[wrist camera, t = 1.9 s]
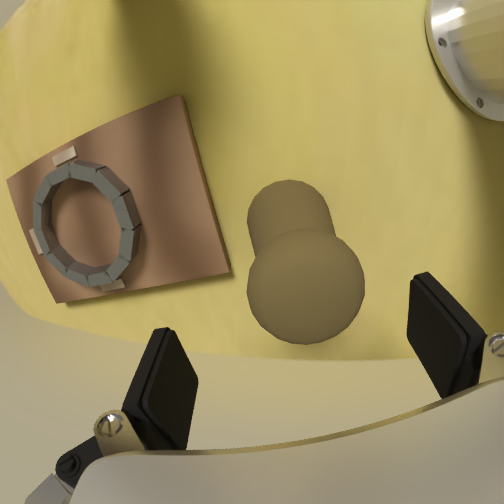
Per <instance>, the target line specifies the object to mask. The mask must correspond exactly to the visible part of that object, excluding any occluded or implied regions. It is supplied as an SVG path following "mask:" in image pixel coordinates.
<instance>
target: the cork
mask: <svg viewBox="0 0 504 504" xmlns="http://www.w3.org/2000/svg"><path fill="white" fill-rule="evenodd" d="M247 224H248V229H249V234H250V238H251V241H252V245H253V249H254V253H255V257H256V258H255V260H254V262H253V264H252V266H251V268H250V270H249V277H248V285H247V296H248V300H249V305H250V308H251V311H252V314H253V315H254V317H255V318H256V320H257V321H258V323H259V324H260V326H261V327H262V328H264V329H265V330H267V331H268V332H269V333H271V334H272V335H273V336H275V337H276V338H278V339H280V340H283V341H286V342H289V343H292V344H305V345H307V344H313V343H319V342H323V341H325V340H328V339H330V338H332V337H335V336H336V335H338V334H339V333H340V332H342V331H343V330H344V329H346V328H347V327H348V326H349V325H350V323H351V322H352V321H353V319H354V318H355V317H356V315H357V314H358V312H359V310H360V307H361V304H362V301H363V299H364V296H365V279H364V272H363V270H362V267H361V265H360V262H359V260H358V257H357V256H356V255H355V253H354V252H353V251H352V250H351V249H350V248H349V246H348V245H347V244H346V243H345V242H344V241H343V240H341V239H339V238H337V237H336V234H335V230H334V227H333V223H332V219H331V216H330V212H329V208H328V206H327V204H326V202H325V200H324V198H323V196H322V195H321V194H320V193H319V192H318V191H317V190H316V189H315V188H314V187H312V186H310V185H308V184H306V183H304V182H301V181H295V180H284V181H278V182H274V183H272V184H270V185H268V186H267V187H265V188H263V189H262V190H261V191H260V192H259V193H258V194H257V195H256V196H255V197H254V199H253V201H252V203H251V205H250V207H249V209H248V217H247Z"/></svg>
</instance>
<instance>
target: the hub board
mask: <svg viewBox="0 0 504 504" xmlns="http://www.w3.org/2000/svg"><path fill="white" fill-rule="evenodd" d="M77 160H83V161H88V162H93V163H97V164H102V165H106V167H109V168H110V169H111V170H112V171H113V172H114V173H115V174H116V175H117V176H118V177H119V178H120V179H121V180H122V181H123V182H124V183H125V184H126V185H127V186H128V187H129V188H130V189H129V190H128V191H131V192H132V195H133V198H134V201H135V204H136V207H137V210H138V213H139V215H140V218H141V221H142V222H141V224H142V226H141V233H140V240H139V248H138V253H137V255H136V256H135V257H134V259H133V260H132V261H131V262H130V263H129V264H128V266H127V267H126V268H125V269H124V270H123V271H122V273H121V274H120V275H119V276H118V277H117V279H116V280H115V281H114V282H113V283H108V284H103V285H98V286H93V287H90V286H89V287H87V286H85V285H82V284H79V283H77V282H74V281H72V280H69V279H67V278H65V277H63V276H62V275H61V274H60V273H59V272H58V270H57V269H56V268H55V267H54V266H53V265H52V264H51V263H50V262H49V261H48V260H47V259H46V258H45V257H46V256H44V254H43V252H42V250H41V247H40V245H39V242H38V240H37V238H36V235H35V232H34V228H33V200H34V197H35V195H36V193H37V191H38V189H39V187H40V185H41V183H42V181H43V179H44V177H45V176H46V175H47V174H48V173H50V172H52V171H54V170H56V169H58V168H60V167H62V166H64V165H66V164H68V163H71V162H74V161H77ZM6 181H7V184H8V188H9V191H10V194H11V198H12V201H13V204H14V207H15V210H16V213H17V216H18V218H19V221H20V224H21V227H22V229H23V232H24V234H25V237H26V239H27V242H28V244H29V247H30V249H31V252H32V254H33V256H34V259H35V261H36V263H37V265H38V267H39V270H40V272H41V274H42V276H43V278H44V280H45V282H46V284H47V286H48V288H49V290H50V292H51V294H52V296H53V298H54V300H55V302H56V304H58V303H64V302H69V301H75V300H81V299H87V298H93V297H98V296H104V295H110V294H115V293H121V292H127V291H132V290H138V289H143V288H149V287H154V286H160V285H165V284H170V283H176V282H181V281H186V280H192V279H197V278H202V277H208V276H213V275H218V274H223V273H228V272H229V271H230V266H231V264H230V261H229V257H228V254H227V250H226V247H225V244H224V240H223V237H222V233H221V230H220V227H219V223H218V220H217V216H216V213H215V209H214V206H213V202H212V199H211V195H210V192H209V188H208V185H207V181H206V177H205V174H204V170H203V167H202V163H201V159H200V156H199V152H198V148H197V145H196V141H195V137H194V134H193V130H192V126H191V122H190V119H189V115H188V111H187V107H186V103H185V100H184V96H181V95H177V96H174V97H171V98H168V99H165V100H162V101H160V102H157V103H154V104H151V105H149V106H146V107H144V108H141V109H138V110H136V111H134V112H131V113H129V114H126V115H124V116H122V117H119V118H117V119H115V120H112V121H110V122H108V123H106V124H104V125H101V126H99V127H97V128H95V129H93V130H91V131H89V132H87V133H85V134H83V135H81V136H79V137H77V138H75V139H73V140H71V141H69V142H68V143H66V144H64V145H62V146H60V147H58V148H57V149H55V150H53V151H51V152H50V153H48V154H46V155H45V156H43V157H41V158H40V159H38V160H36V161H35V162H33V163H31V164H30V165H28V166H27V167H25V168H23V169H22V170H20V171H19V172H17V173H16V174H14V175H13V176H11V177H10V178H9V179H7V180H6ZM51 223H52V226H53V228H54V231H55V233H56V236H57V238H58V241H59V243H60V245H61V246H62V247H63V248H64V249H65V250H66V251H67V252H68V253H69V254H70V255H71V256H72V257H73V258H74V259H75V260H76V261H78V262H81V263H84V264H87V265H89V266H92V267H99V266H103V265H107V264H111V263H113V262H114V260H115V259H116V258H117V256H118V255H119V244H120V235H121V228H120V225H119V223H118V220H117V217H116V214H115V212H114V209H113V206H112V203H111V202H110V201H109V199H108V198H107V197H106V196H105V195H104V194H103V193H102V192H101V191H100V190H99V189H98V188H97V187H96V186H95V185H94V184H93V183H91V182H87V181H83V180H79V179H75V178H69V179H67V180H65V181H63V182H62V183H61V185H60V187H59V188H58V190H57V192H56V194H55V196H54V197H53V199H52V219H51Z"/></svg>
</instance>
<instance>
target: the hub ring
mask: <svg viewBox="0 0 504 504" xmlns="http://www.w3.org/2000/svg"><path fill="white" fill-rule="evenodd" d="M69 178H75V179H79V180H83V181H87V182H91V183H93V184H94V185H95V186H96V187H97V188H98V189H99V190H100V191H101V192H102V193H103V194H104V195H105V196H106V197H107V198H108V199H109V201H110V202H111V203H112V206H113V209H114V212H115V214H116V217H117V220H118V223H119V225H120V228H121V235H120V244H119V255H118V256H117V258H116V259H115V260H114V262H113V263H111V264H107V265H103V266H99V267H92V266H89V265H87V264H84V263H81V262H78V261H76V260H75V259H74V258H73V257H72V256H71V255H70V254H69V253H68V252H67V251H66V250H65V249H64V248H63V247H62V246H61V245H60V243H59V241H58V238H57V236H56V233H55V231H54V228H53V226H52V223H51V219H52V199H53V197H54V196H55V194H56V192H57V190H58V188H59V187H60V185H61V183H62V182H63V181H65V180H67V179H69ZM129 189H130V188H129V187H128V186H127V185H126V184H125V183H124V182H123V181H122V180H121V179H120V178H119V177H118V176H117V175H116V174H115V173H114V172H113V171H112V170H111V169H110V168H109V167H106V165H102V164H97V163H93V162H88V161H83V160H77V161H74V162H71V163H68V164H66V165H64V166H62V167H60V168H58V169H56V170H54V171H52V172H50V173H48V174H47V175H46V176H45V177H44V179H43V181H42V183H41V185H40V187H39V189H38V191H37V193H36V195H35V197H34V200H33V228H34V232H35V235H36V238H37V240H38V242H39V245H40V247H41V250H42V252H43V254H44V256H46V257H45V258H46V259H47V260H48V261H49V262H50V263H51V264H52V265H53V266H54V267H55V268H56V269H57V270H58V272H59V273H60V274H61V275H62V276H63V277H65V278H67V279H69V280H72V281H74V282H77V283H79V284H82V285H85V286H87V287H89V286H90V287H93V286H98V285H103V284H108V283H113V282H114V281H115V280H116V279H117V277H118V276H119V275H120V274H121V273H122V271H123V270H124V269H125V268H126V267H127V266H128V264H129V263H130V262H131V261H132V260H133V259H134V257H135V256H136V255H137V253H138V248H139V240H140V233H141V226H142V224H141V222H142V221H141V218H140V215H139V213H138V210H137V207H136V204H135V201H134V198H133V195H132V192H131V191H128V190H129Z"/></svg>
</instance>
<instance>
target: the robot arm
mask: <svg viewBox="0 0 504 504" xmlns="http://www.w3.org/2000/svg"><path fill="white" fill-rule="evenodd" d="M425 26H426V34H427V38H428V42H429V46H430V49H431V52H432V54H433V57H434V59H435V62H436V64H437V66H438V68H439V70H440V72H441V74H442V76H443V77H444V79H445V80H446V82H447V83H448V85H449V86H450V88H451V89H452V91H453V92H454V93H455V94H456V95H457V97H458V98H459V99H460V100H461V101H462V102H463V103H464V104H465V105H466V106H467V107H468V108H469V109H470V110H472V111H473V112H475V113H476V114H478V115H479V116H481V117H484V118H486V119H489V120H495V121H504V0H429V2H428V5H427V8H426V14H425ZM407 338H408V341H409V343H410V344H411V346H412V348H413V349H414V351H415V353H416V354H417V356H418V358H419V360H420V361H421V363H422V365H423V366H424V368H425V370H426V372H427V373H428V375H429V377H430V379H431V381H432V382H433V384H434V386H435V388H436V389H437V391H438V393H439V395H440V397H441V398H442V400H439V401H436V402H434V403H431V404H429V405H426V406H423V407H421V408H418V409H415V410H413V411H410V412H407V413H404V414H402V415H398V416H395V417H392V418H389V419H386V420H383V421H380V422H376V423H373V424H369V425H366V426H362V427H358V428H354V429H350V430H347V431H342V432H338V433H334V434H329V435H325V436H320V437H315V438H309V439H304V440H298V441H292V442H286V443H279V444H272V445H263V446H255V447H244V448H231V449H212V450H186V448H187V442H188V436H189V431H190V426H191V420H192V415H193V409H194V404H195V399H196V393H197V388H198V377H197V375H196V373H195V371H194V369H193V367H192V365H191V363H190V361H189V359H188V357H187V355H186V353H185V351H184V349H183V347H182V345H181V343H180V341H179V339H178V337H177V334H176V332H175V331H174V330H171V329H170V328H168V327H166V328H159V329H155V330H154V331H153V333H152V335H151V338H150V340H149V342H148V345H147V347H146V349H145V351H144V354H143V356H142V358H141V361H140V363H139V366H138V368H137V370H136V373H135V375H134V378H133V380H132V382H131V385H130V387H129V390H128V392H127V395H126V397H125V400H124V402H123V407H122V409H121V411H119V410H111V411H108V412H105V413H104V414H102V415H101V416H100V417H99V418H98V419H97V421H96V422H95V424H94V429H93V430H94V434H95V436H93V437H92V438H90V439H88V440H86V441H85V442H83V443H82V444H80V445H78V446H77V447H75V448H73V449H72V450H70V451H68V452H67V453H65V454H63V456H61V457H60V458H59V460H58V461H57V464H56V469H55V470H56V474H55V475H54V474H52V473H51V474H50V475H49V476H48V477H47V478H46V479H45V480H44V481H43V482H42V484H40V485H39V486H38V487H37V488H36V489H35V490H34V491H33V492H32V493H31V494H30V495H29V496H28V497H27V499H26V500H25V504H504V332H494V333H492V334H490V335H489V336H487V335H486V334H485V332H484V330H483V329H482V328H481V327H480V326H479V324H478V323H477V322H476V321H475V320H474V319H473V318H472V317H471V316H470V314H469V313H468V312H467V311H466V310H465V309H464V308H463V307H462V306H461V305H460V304H459V303H458V302H457V300H456V299H455V298H454V297H453V296H452V295H451V294H450V293H449V292H448V291H447V290H446V289H445V288H444V287H443V286H442V285H441V284H440V283H439V282H438V281H437V280H436V279H435V278H434V277H433V276H432V275H431V274H430V273H429V272H424V273H421V274H417V275H415V276H414V278H413V280H411V281H410V295H409V311H408V324H407Z"/></svg>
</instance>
